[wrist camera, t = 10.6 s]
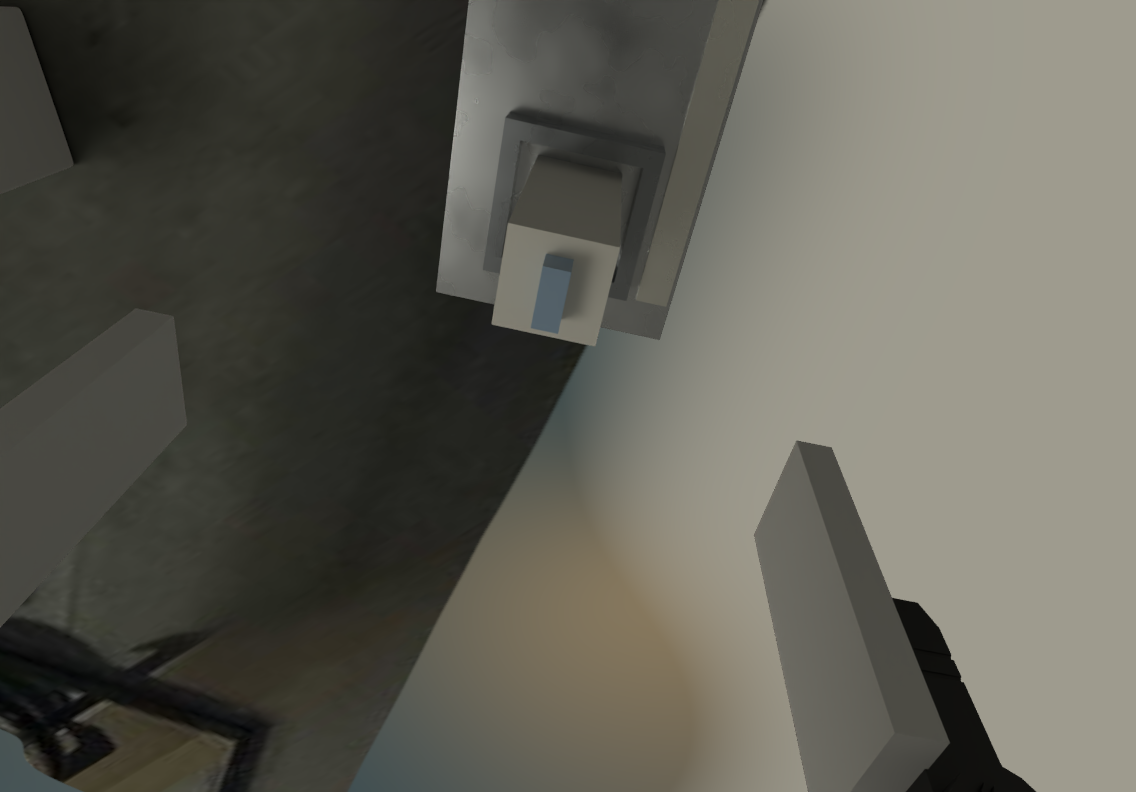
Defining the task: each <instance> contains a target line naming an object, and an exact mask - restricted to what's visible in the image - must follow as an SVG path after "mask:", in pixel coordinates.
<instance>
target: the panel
mask: <svg viewBox="0 0 1136 792" xmlns="http://www.w3.org/2000/svg"><path fill="white" fill-rule="evenodd" d="M762 3H763V0H469V5H468V14H467V22H466V31H465V40H464V49H463V58H462V67H461V76H460V84H459V93H458V102H457V111H456V120H455V129H454V138H453V146H452V155H451V164H450V173H449V182H448V191H447V200H446V208H445V217H444V226H443V235H442V244H441V253H440V262H439V270H438V279H437V288H436V292H439V293H444V294H449V295H453V296H458V297H463V298H467V299H472V300H477V301H481V302H486V303H490V304H495V300H496V294H497V288H498V281H499V275H500V269H501V263H502V257H503V251H504V244H505V238H506V232H507V226H508V222H509V219H510V217H511V215H512V213H513V211H514V208H515V206H516V204H517V202H518V199H519V197H520V195H521V193H522V190H523V188H524V186H525V184H526V181H527V179H528V177H529V175H530V172H531V170H532V168H533V166H534V163H535V161H536V159H537V157H538V155H540V156H545V157H549V158H553V159H558V160H562V161H567V162H571V163H576V164H580V165H585V166H589V167H593V168H598V169H602V170H607V171H611V172H616V173H620V174H622V189H621V235H620V251H619V254H618V258H617V262H616V266H615V270H614V274H613V278H612V282H611V286H610V290H609V294H608V298H607V302H606V306H605V310H604V314H603V318H602V322H601V326H600V327H602V328H607V329H612V330H616V331H621V332H625V333H630V334H635V335H639V336H644V337H649V338H653V339H658V340H660V337H661V334H662V330H663V327H664V324H665V320H666V317H667V314H668V311H669V307H670V304H671V301H672V297H673V294H674V291H675V288H676V284H677V281H678V278H679V274H680V271H681V268H682V265H683V262H684V258H685V255H686V252H687V248H688V245H689V241H690V239H691V235H692V232H693V229H694V226H695V222H696V219H697V216H698V212H699V209H700V206H701V203H702V199H703V196H704V193H705V190H706V186H707V183H708V180H709V176H710V173H711V170H712V167H713V163H714V160H715V157H716V154H717V150H718V147H719V144H720V140H721V137H722V134H723V130H724V127H725V124H726V121H727V118H728V114H729V111H730V108H731V104H732V101H733V98H734V95H735V91H736V88H737V84H738V82H739V78H740V75H741V72H742V68H743V65H744V62H745V58H746V55H747V52H748V49H749V46H750V42H751V39H752V36H753V32H754V29H755V26H756V23H757V19H758V16H759V13H760V10H761V6H762Z"/></svg>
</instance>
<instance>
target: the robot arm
mask: <svg viewBox="0 0 1136 792" xmlns="http://www.w3.org/2000/svg"><path fill="white" fill-rule="evenodd" d="M186 425H187V421H186V413H185V405H184V397H183V389H182V381H181V373H180V365H179V357H178V348H177V340H176V332H175V324H174V316H171V315H166V314H161V313H156V312H151V311H146V310H141V309H134V310H133V311H132V312H130V313H129V314H128V315H126V316H125V317H124V318H122V319H121V320H120V321H118V322H117V323H116V324H114V325H113V326H111V327H110V328H109V329H107V330H106V331H105V332H103V333H102V334H101V335H99V336H98V337H97V338H95V339H94V340H92V341H91V342H90V343H88V344H87V345H86V346H84V347H83V348H82V349H80V350H79V351H78V352H76V353H75V354H74V355H72V356H71V357H69V358H68V359H67V360H65V361H64V362H63V363H61V364H60V365H59V366H57V367H56V368H55V369H53V370H52V371H51V372H49V373H48V374H46V375H45V376H44V377H42V378H41V379H40V380H38V381H37V382H36V383H34V384H33V385H32V386H30V387H29V388H27V389H26V390H25V391H23V392H22V393H21V394H19V395H18V396H17V397H15V398H14V399H13V400H11V401H10V402H9V403H7V404H6V405H4V406H3V407H2V408H0V627H1V626H2V625H3V624H4V623H5V622H6V620H7V619H8V618H9V617H10V616H11V615H12V614H13V613H14V612H15V611H16V610H17V609H18V607H19V606H20V605H21V604H22V603H23V602H24V601H25V600H26V599H27V598H28V597H29V596H30V594H31V593H32V592H33V591H34V590H35V589H36V588H37V587H38V586H39V585H40V584H41V582H42V581H43V580H44V579H45V578H46V577H47V576H48V575H49V574H50V573H51V572H52V571H53V569H54V568H55V567H56V566H57V565H58V564H59V563H60V562H61V561H62V560H63V559H64V558H65V556H66V555H67V554H68V553H69V552H70V551H71V550H72V549H73V548H74V547H75V546H76V544H77V543H78V542H79V541H80V540H81V539H82V538H83V537H84V536H85V535H86V534H87V533H88V531H89V530H90V529H91V528H92V527H93V526H94V525H95V524H96V523H97V522H98V521H99V520H100V518H101V517H102V516H103V515H104V514H105V513H106V512H107V511H108V510H109V509H110V508H111V506H112V505H113V504H114V503H115V502H116V501H117V500H118V499H119V498H120V497H121V496H122V495H123V493H124V492H125V491H126V490H127V489H128V488H129V487H130V486H131V485H132V484H133V483H134V482H135V480H136V479H137V478H138V477H139V476H140V475H141V474H142V473H143V472H144V471H145V470H146V468H147V467H148V466H149V465H150V464H151V463H152V462H153V461H154V460H155V459H156V458H157V457H158V455H159V454H160V453H161V452H162V451H163V450H164V449H165V448H166V447H167V446H168V445H169V444H170V442H171V441H172V440H173V439H174V438H175V437H176V436H177V435H178V434H179V433H180V432H181V430H182V429H183V428H184V427H185V426H186ZM754 537H755V541H756V546H757V551H758V556H759V561H760V565H761V570H762V574H763V579H764V584H765V589H766V594H767V598H768V603H769V608H770V613H771V617H772V622H773V627H774V632H775V636H776V641H777V646H778V651H779V655H780V660H781V665H782V670H783V674H784V679H785V684H786V688H787V693H788V698H789V703H790V708H791V712H792V717H793V721H794V727H795V731H796V736H797V741H798V746H799V750H800V755H801V760H802V765H803V769H804V774H805V779H806V784H807V788H808V792H1036V791H1035V790H1034V789H1033V788H1031V787H1030V786H1029V785H1028V784H1027V783H1026V782H1025V781H1024V780H1023V779H1022V778H1020V777H1019V776H1017V775H1015V774H1013V773H1012V772H1010V771H1009V770H1007V769H1005V768H1003V767H1002V765H1001V763H1000V762H999V759H998V757H997V755H996V752H995V750H994V748H993V746H992V744H991V741H990V739H989V737H988V735H987V733H986V731H985V728H984V726H983V724H982V722H981V719H980V717H979V715H978V713H977V710H976V708H975V706H974V704H973V702H972V699H971V697H970V695H969V693H968V691H967V689H966V686H965V684H964V682H961V675H960V673H959V671H958V669H957V666H956V664H955V662H954V660H951V653H950V651H949V649H948V646H947V644H946V642H945V640H944V638H943V636H942V633H941V631H940V629H939V627H938V626H937V625H936V624H935V623H934V622H933V620H932V619H931V618H930V617H929V616H928V614H927V613H926V612H925V611H924V610H923V609H922V608H921V606H920V605H919V604H918V603H915V602H910V601H905V600H900V599H895V598H892V597H891V595H890V592H889V590H888V587H887V585H886V582H885V580H884V577H883V575H882V572H881V570H880V567H879V565H878V562H877V560H876V557H875V555H874V552H873V550H872V547H871V545H870V542H869V540H868V537H867V535H866V532H865V530H864V527H863V525H862V522H861V520H860V517H859V515H858V512H857V510H856V507H855V505H854V502H853V500H852V497H851V495H850V492H849V490H848V487H847V485H846V482H845V480H844V477H843V475H842V472H841V470H840V467H839V465H838V462H837V460H836V457H835V455H834V452H833V450H832V448H831V447H826V446H821V445H816V444H811V443H806V442H801V441H796V443H795V445H794V447H793V449H792V452H791V454H790V456H789V458H788V461H787V463H786V465H785V467H784V470H783V472H782V474H781V476H780V479H779V480H778V483H777V485H776V487H775V489H774V492H773V494H772V496H771V498H770V500H769V503H768V505H767V507H766V509H765V511H764V514H763V516H762V518H761V521H760V523H759V525H758V527H757V529H756V531H755V534H754Z"/></svg>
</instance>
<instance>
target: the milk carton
mask: <svg viewBox="0 0 1136 792" xmlns="http://www.w3.org/2000/svg"><path fill="white" fill-rule="evenodd" d="M72 166H73V160H72V156H71V153H70V150H69V147H68V144H67V141H66V139H65V136H64V133H63V130H62V127H61V124H60V121H59V118H58V115H57V112H56V109H55V106H54V103H53V101H52V98H51V95H50V92H49V89H48V86H47V83H46V80H45V77H44V74H43V71H42V68H41V66H40V63H39V60H38V57H37V54H36V51H35V48H34V45H33V42H32V39H31V36H30V33H29V30H28V28H27V25H26V22H25V19H24V16H23V14H22V12H21V10H20V9H19V8H18V7H2V6H0V194H2V193H5V192H7V191H10V190H12V189H15V188H18V187H20V186H23V185H26V184H28V183H31V182H34V181H36V180H39V179H41V178H44V177H47V176H49V175H52V174H55V173H57V172H60V171H63V170H65V169H68V168H70V167H72Z"/></svg>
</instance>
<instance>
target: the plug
mask: <svg viewBox="0 0 1136 792" xmlns="http://www.w3.org/2000/svg"><path fill="white" fill-rule="evenodd" d="M621 189H622V174H620V173H616V172H611V171H607V170H602V169H598V168H593V167H589V166H585V165H580V164H576V163H571V162H567V161H562V160H558V159H553V158H549V157H545V156H540V155H538V157H537V159H536V161H535V163H534V166H533V168H532V170H531V172H530V175H529V177H528V179H527V181H526V184H525V186H524V188H523V190H522V193H521V195H520V197H519V199H518V202H517V204H516V206H515V208H514V211H513V213H512V215H511V217H510V219H509V222H508V226H507V232H506V238H505V244H504V251H503V257H502V263H501V269H500V275H499V281H498V288H497V294H496V300H495V306H494V312H493V318H492V325H497V326H502V327H506V328H511V329H516V330H520V331H525V332H530V333H534V334H539V335H544V336H549V337H553V338H558V339H563V340H567V341H572V342H577V343H581V344H586V345H591V346H595V345H596V341H597V337H598V333H599V330H600V326H601V322H602V318H603V314H604V310H605V306H606V302H607V298H608V294H609V290H610V286H611V282H612V278H613V274H614V270H615V266H616V262H617V258H618V254H619V251H620V235H621Z"/></svg>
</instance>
